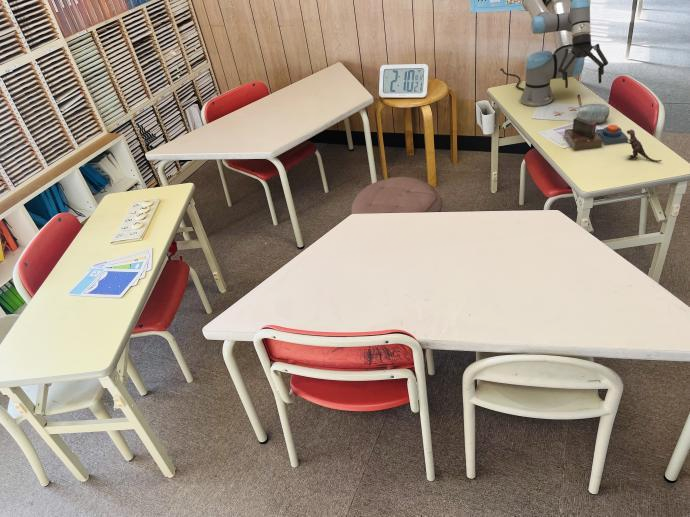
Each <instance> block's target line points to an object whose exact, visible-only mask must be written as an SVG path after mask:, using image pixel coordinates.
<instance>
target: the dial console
mask: <svg viewBox="0 0 690 517" xmlns="http://www.w3.org/2000/svg"><path fill="white" fill-rule="evenodd" d="M572 130H573V128H566V129H564V135H563V138H564V139H565V140H566V141H567V143H568V144H569V146H570V147H571V148H572V150H573V151H574V152H575V151H583V150H585V151H586V150H593V149H600V148H602V146H603V142H602V139H601V138H600V136H599V135H598V134H597V133H601V132H597V133H596V131H595V137H594V138H588V137H585V136H582V135H580V134H577V133H574V132H572Z"/></svg>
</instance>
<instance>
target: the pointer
mask: <svg viewBox="0 0 690 517" xmlns="http://www.w3.org/2000/svg"><path fill="white" fill-rule="evenodd" d="M596 128H597V123H592V122H589V121H586V120H583V119H580V118H576V117H575V118H573V122H572V129H573V130H572V132H574V133H577V134H580V135H582V136H585V137H588V138H594V137H595V132H596V130H597V129H596Z"/></svg>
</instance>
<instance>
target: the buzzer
mask: <svg viewBox="0 0 690 517" xmlns="http://www.w3.org/2000/svg"><path fill="white" fill-rule="evenodd" d="M607 129H608V126H606V127H604V128H600V129H595V132H596V133H597V132H601V133H597V134H598V135H599V136H600V138H601V139H602V144H603V145H605V146H609V145H610V146H611V145H616V144H617V145H619V144H624V143H625V144H627V142H629V140H627V139H629V137H628V135H626V134H625V133H624V131H622V130H623V129H622V128H621V127H619V126H618V131H617V132H609V131H607ZM626 141H627V142H626Z"/></svg>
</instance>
